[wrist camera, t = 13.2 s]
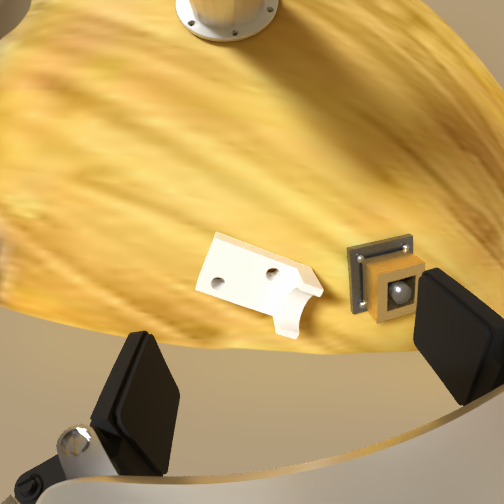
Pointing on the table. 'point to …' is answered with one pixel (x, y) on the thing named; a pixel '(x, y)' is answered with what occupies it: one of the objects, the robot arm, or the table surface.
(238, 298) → the bracket
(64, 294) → the table surface
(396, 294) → the peg base plate
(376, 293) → the collar
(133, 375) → the robot arm
